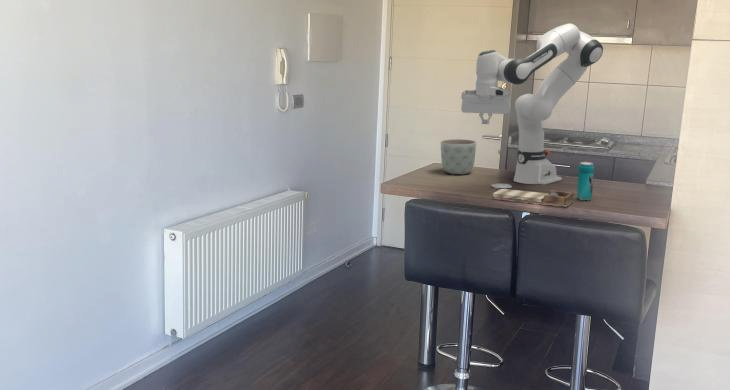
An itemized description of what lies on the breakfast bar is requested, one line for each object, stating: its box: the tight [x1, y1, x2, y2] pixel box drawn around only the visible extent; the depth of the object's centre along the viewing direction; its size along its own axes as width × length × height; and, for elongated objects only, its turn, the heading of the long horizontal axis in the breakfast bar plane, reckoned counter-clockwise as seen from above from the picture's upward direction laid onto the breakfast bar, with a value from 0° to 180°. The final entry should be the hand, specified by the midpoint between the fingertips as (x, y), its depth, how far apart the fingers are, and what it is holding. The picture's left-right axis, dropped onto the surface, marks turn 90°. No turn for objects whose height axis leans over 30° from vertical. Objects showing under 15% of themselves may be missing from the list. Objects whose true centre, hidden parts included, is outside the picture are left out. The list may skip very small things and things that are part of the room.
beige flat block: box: [492, 188, 549, 202], centre depth 291 cm, size 20×10×2 cm, turn 60°
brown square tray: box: [541, 189, 574, 205], centre depth 284 cm, size 10×10×4 cm
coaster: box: [490, 183, 513, 189], centre depth 315 cm, size 9×9×1 cm
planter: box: [440, 138, 477, 175], centre depth 344 cm, size 17×17×15 cm
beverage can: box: [576, 161, 595, 201], centre depth 289 cm, size 6×6×15 cm
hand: (485, 124), depth 299 cm, fingers closed
